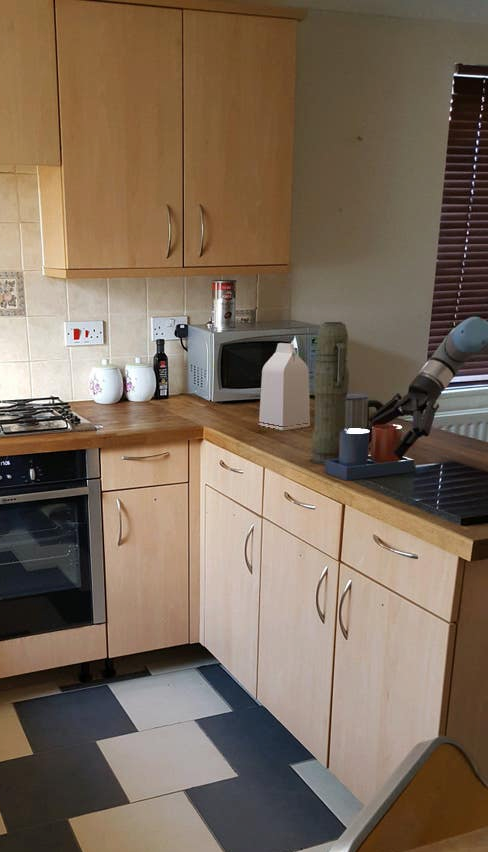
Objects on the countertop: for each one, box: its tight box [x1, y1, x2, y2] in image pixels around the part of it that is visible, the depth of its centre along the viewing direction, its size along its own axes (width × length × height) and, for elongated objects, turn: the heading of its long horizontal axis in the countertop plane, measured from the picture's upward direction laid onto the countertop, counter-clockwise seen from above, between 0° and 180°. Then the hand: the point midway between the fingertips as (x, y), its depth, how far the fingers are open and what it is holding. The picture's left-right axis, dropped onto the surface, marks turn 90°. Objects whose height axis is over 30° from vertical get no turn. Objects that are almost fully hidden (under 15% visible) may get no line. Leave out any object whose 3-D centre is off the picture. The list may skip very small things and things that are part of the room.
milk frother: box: [345, 393, 385, 430], centre depth 245 cm, size 14×16×15 cm
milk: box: [258, 342, 311, 431], centre depth 280 cm, size 12×12×26 cm
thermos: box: [311, 321, 350, 465], centre depth 224 cm, size 9×12×35 cm
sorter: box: [324, 454, 415, 481], centre depth 215 cm, size 10×19×3 cm, turn 111°
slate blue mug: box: [339, 429, 370, 467], centre depth 212 cm, size 7×7×10 cm
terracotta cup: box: [370, 424, 403, 463], centre depth 215 cm, size 7×7×10 cm
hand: (378, 450), depth 214 cm, fingers open, 13 cm apart
